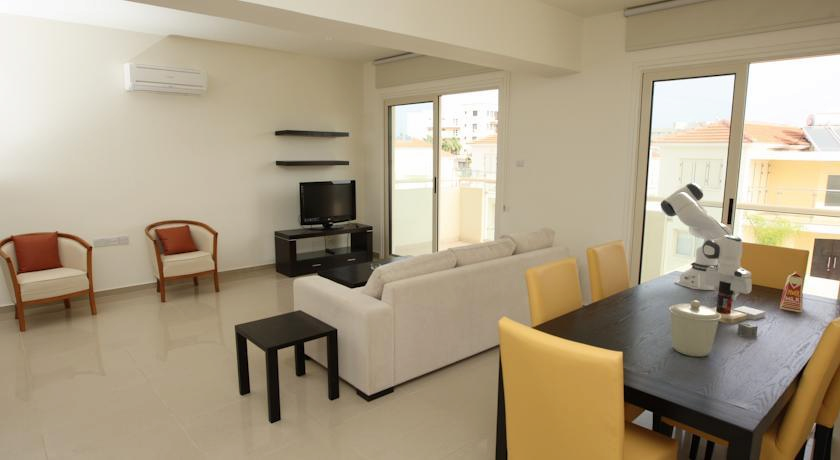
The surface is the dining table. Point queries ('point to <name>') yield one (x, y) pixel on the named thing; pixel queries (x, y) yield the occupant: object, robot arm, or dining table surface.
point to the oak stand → (732, 317)
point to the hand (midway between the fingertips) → (725, 298)
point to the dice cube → (747, 330)
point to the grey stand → (751, 312)
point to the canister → (693, 328)
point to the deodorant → (724, 298)
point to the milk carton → (792, 294)
